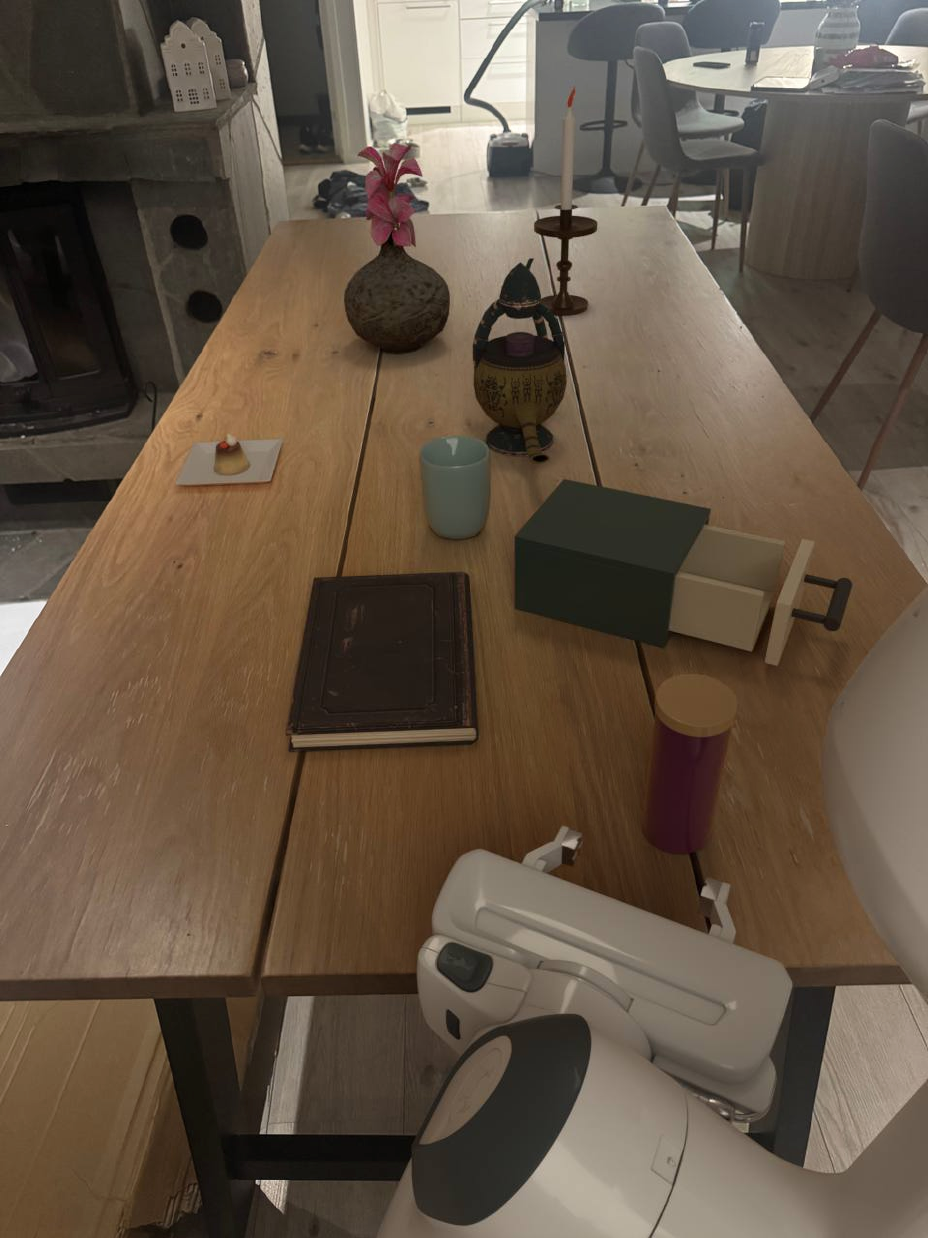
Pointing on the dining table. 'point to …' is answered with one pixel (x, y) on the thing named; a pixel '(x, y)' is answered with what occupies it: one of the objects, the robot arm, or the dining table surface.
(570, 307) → the candlestick
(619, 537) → the cabinet
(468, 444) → the cup
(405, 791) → the dining table surface
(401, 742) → the hardcover book
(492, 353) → the teapot
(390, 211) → the vase
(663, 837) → the canister
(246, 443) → the dessert
